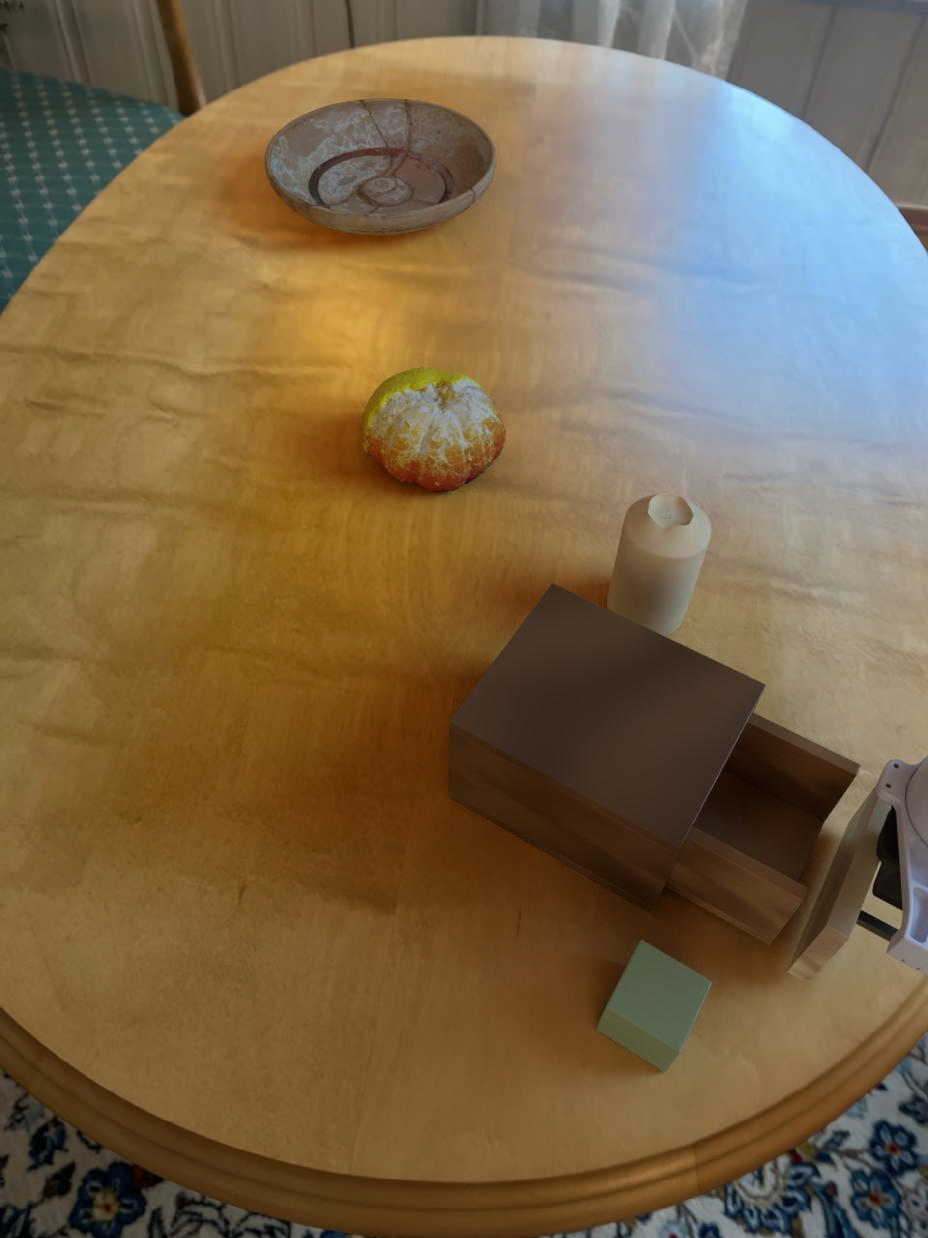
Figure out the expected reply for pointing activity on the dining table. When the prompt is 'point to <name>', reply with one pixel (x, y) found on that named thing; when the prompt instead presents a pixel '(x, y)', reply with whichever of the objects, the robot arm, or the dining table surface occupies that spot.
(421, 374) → the fruit
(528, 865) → the dining table surface
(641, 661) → the cabinet
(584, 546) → the dining table surface
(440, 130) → the ceramic bowl
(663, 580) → the beige bottle
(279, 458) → the dining table surface
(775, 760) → the drawer
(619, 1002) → the block
